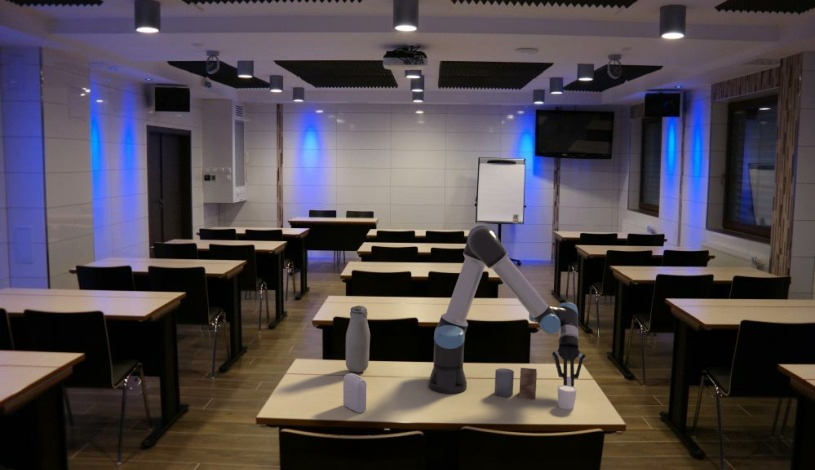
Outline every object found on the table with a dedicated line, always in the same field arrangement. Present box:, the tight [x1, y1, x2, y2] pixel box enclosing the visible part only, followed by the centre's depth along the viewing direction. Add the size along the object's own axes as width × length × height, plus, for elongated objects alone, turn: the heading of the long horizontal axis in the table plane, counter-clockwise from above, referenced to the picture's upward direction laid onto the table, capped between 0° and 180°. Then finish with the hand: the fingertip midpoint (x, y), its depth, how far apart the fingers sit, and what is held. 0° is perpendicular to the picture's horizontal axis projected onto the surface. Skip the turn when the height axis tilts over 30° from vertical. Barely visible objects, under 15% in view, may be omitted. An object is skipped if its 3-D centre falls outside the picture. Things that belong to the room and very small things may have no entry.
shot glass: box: [557, 385, 578, 410], centre depth 235 cm, size 7×7×7 cm
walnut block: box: [518, 367, 538, 400], centre depth 245 cm, size 6×6×10 cm
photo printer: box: [342, 372, 367, 414], centre depth 228 cm, size 10×4×12 cm, turn 39°
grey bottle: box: [345, 305, 371, 373], centre depth 267 cm, size 10×10×28 cm
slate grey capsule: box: [494, 367, 515, 398], centre depth 247 cm, size 7×7×9 cm
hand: (568, 394), depth 240 cm, fingers closed
